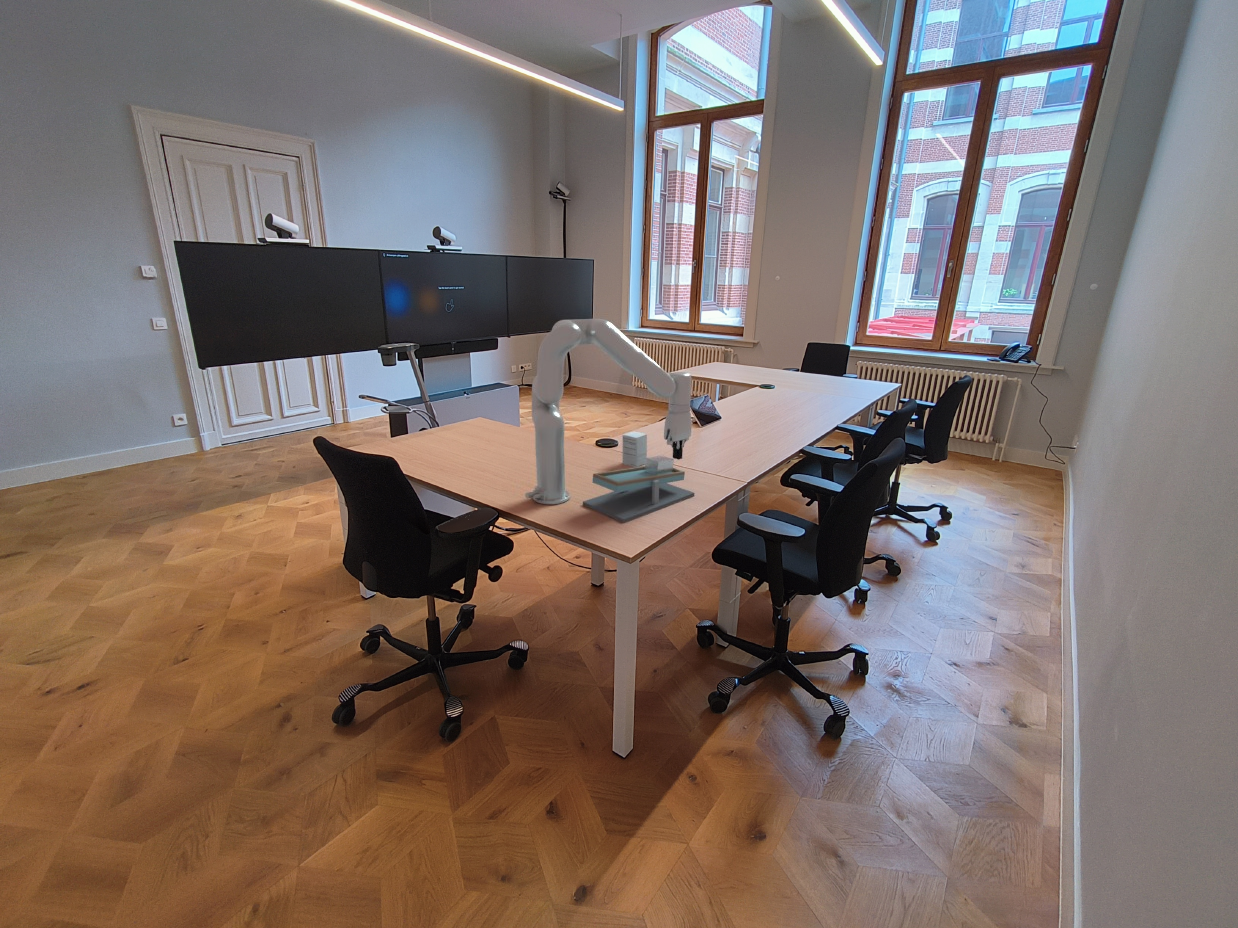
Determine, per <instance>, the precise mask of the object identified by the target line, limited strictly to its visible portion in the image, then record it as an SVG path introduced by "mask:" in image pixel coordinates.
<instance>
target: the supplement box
mask: <svg viewBox="0 0 1238 928" xmlns="http://www.w3.org/2000/svg"><path fill="white" fill-rule="evenodd" d="M647 453H648V434H647V433H643V432H637V431H630V432H627V433H624V434H622V465H625V466H629V467H631V468H635V467H641V466H644V465H645V459H646V458H648V456H647V455H648V454H647Z"/></svg>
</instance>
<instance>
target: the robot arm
mask: <svg viewBox="0 0 1238 928" xmlns="http://www.w3.org/2000/svg"><path fill="white" fill-rule="evenodd" d="M582 345H583V346H584V345H585V346H587V345H595V346H596V347H598V348H599V349H600V350H601V351H602V352H603V353H605V354H606V355H607V356H608V357H609V358H610V359H611V360H613V362H615V363H616V365H619V367H621V368H622V369H623V370H624V371H626V372H627V373H629V374H631V375H632V376H634V377H635V378H637V379H638V380H639V381H641V383H643V384H644V385H645V387H646V389H647V390H648V391H649V392H650V393H652V394H654V395H655V396H657V397H659V398H661V399H666V398H667V399H668V411H667V412H666V416H665V421H664V427H663V428H664V429H663V439H664V440H666V445H668V446H671V448H672V459H674V460H681V459H683V452H684V451H683V449H684V447H685V444H686V442H687V441H689V440H690V437H691V435H692V414H691V397H692V375H691V373H689V372H687V371H674V372H666V370H665V369H663V368H662V367H661V366H660V365H658V363H656V362H655V361H654V360H653V359H652V358H651V357H649V355H647V354H646V352H644V351H643V350H642V349H641V348H639V346H637V345H636V344H635V343H634V342H633V341H632V340H631V339H629V338H628V337H627V336H626V335H625V334H624V333H623V332H621V330H620V329H619V328H617V327H616V326H615V325H614V324H613V323H612V322H610V321H608V320H607V319H602V318H585V319H584V318H583V319H580V318H579V319H560V320H559V321H557V322H555V323H554V324H553V326H552V328H551V330H550V331H549V332H548V333H547V335H545V337H544V339H543V340H542V341H541V343H540V345H539V348H538V354H537V362H536V363H537V364H536V376H535V377H534V378H533V381H532V385H531V419H532V423H533V425H534V437H535V438H534V441H535V448H534V449H535V464H536V466H535V467H536V484H537V485H536V486H534V489H533V490H532V491H529V492H526V493H524V495H525V499H531V498H532V499H533V501H534V502H535V503H538V504H542V505H559V504H562V503H565V502H567V501H568V500H570V498H571V494H570V492H569V491H567V490H566V473H565V472H566V468H565V462H566V461H565V428H566V427H565V426H566V425H565V421H564V418H563V415H562V413H561V412H560V401H561V399H562V398H563V396H564V395H563V394H564V373H565V372H564V368H565V359H566V357H567V354H568V353H569V352H570V351H571V350H572V349H574V348H576V347H578V346H582Z"/></svg>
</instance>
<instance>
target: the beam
mask: <svg viewBox="0 0 1238 928" xmlns="http://www.w3.org/2000/svg"><path fill="white" fill-rule="evenodd" d="M644 469H645V465H641V466H638V467H629V468H622V469H616V470H610V471H603V472H596V473H593V474H592V484H595V485H598V486H600V487H603V488H606V489H608V490H610V491H612V492H614V491H615V492H622V491H627V490H633V489H638V488H643V487H649V486H652V481H655V480H659V484H665V483H667V484H669V483H673V482H680V481H685V473H686V471H685V470H681V469H678V468H675V467H673V473H668V474H662V475H653V474H650V473H647V472H644Z"/></svg>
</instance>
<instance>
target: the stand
mask: <svg viewBox="0 0 1238 928" xmlns="http://www.w3.org/2000/svg"><path fill="white" fill-rule="evenodd" d="M692 497H693V498H694V497H695V492H693V491H690V490H689V489H685V488H682V487H679V486H675V485H673V484H669V483H665V484H659V480H655V481H652V486H649V487H643V488H638V489H633V490H627V491H622V492H615V491H611V492H608V493H605V494H602V495H598V496H596V497H593V498H589V499H587V500H584V501H582V506H585V507H586V508H588V509H591V510H593V511H596V512H598V513H600V514H602V515H605V516H607V517H609V518H612V519H614V520H616V521H618V522H619V523H620V522H621V523H624V524H625V523H627V522H630V521H632V520H635V519H638V518H641V517H643V516H645V515H648V514H651V513H654V512H656V511H659V510H662V509H664V508H666V507H669V506H671V505H675V504H677V503H680V502H681V501H682V502H683V501H685V500H687V499H690V498H692ZM674 503H675V504H674Z"/></svg>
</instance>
